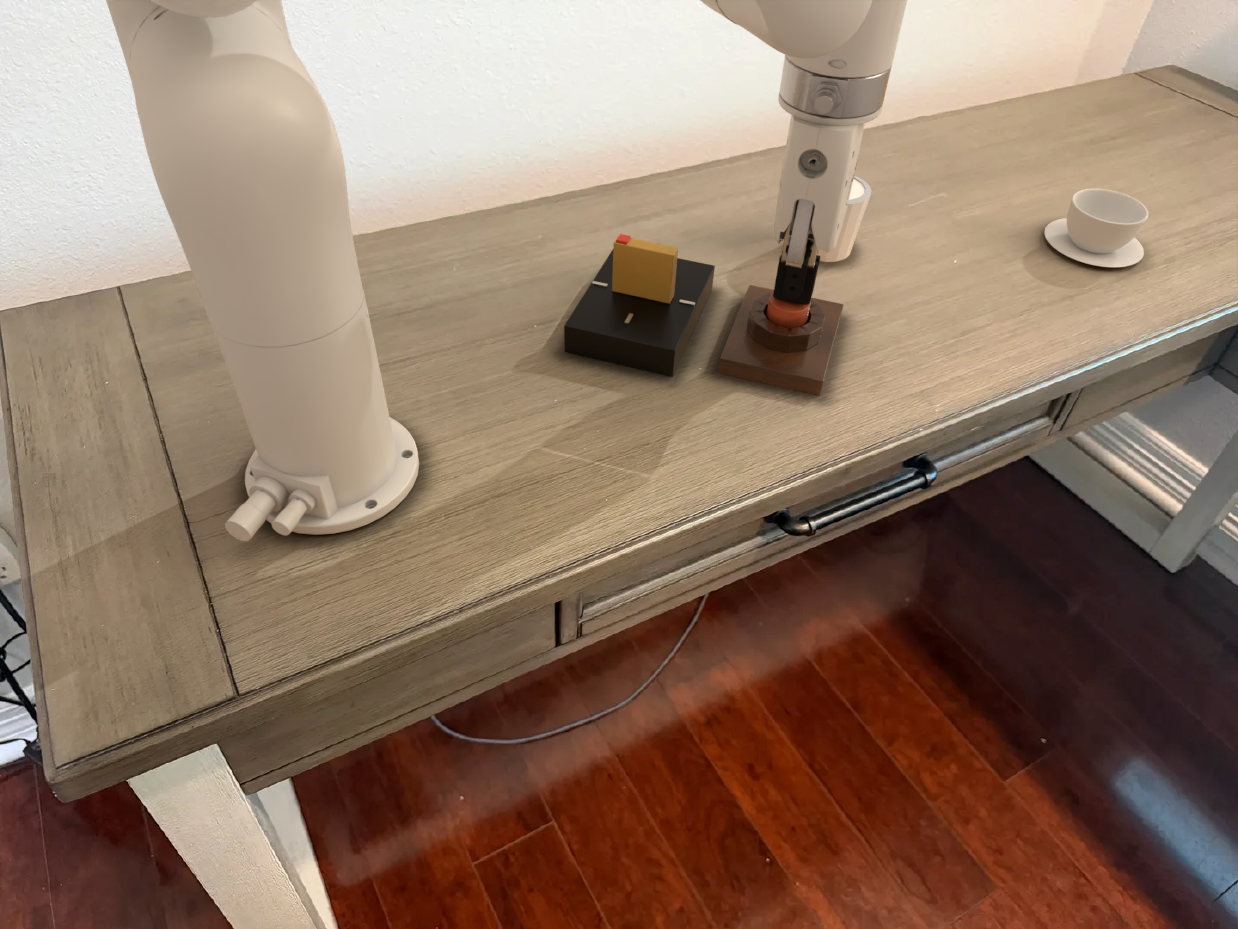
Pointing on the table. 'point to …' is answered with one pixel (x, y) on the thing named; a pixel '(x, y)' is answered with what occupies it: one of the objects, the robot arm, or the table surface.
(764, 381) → the button block
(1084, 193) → the teacup
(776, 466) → the table surface
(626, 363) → the plate
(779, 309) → the button
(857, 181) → the beige cup
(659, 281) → the yellow flat block
